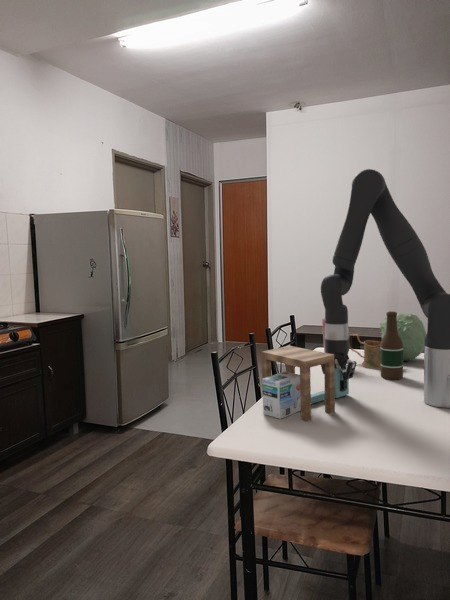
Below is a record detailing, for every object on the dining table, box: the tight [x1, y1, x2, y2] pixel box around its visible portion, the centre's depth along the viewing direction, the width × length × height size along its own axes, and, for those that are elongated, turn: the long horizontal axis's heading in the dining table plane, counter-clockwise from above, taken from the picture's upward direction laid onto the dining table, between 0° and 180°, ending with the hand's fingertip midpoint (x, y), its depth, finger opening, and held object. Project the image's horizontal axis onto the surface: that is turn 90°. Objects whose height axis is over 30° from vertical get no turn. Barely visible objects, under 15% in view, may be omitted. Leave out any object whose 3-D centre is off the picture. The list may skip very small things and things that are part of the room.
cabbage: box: [379, 312, 427, 362], centre depth 194 cm, size 16×19×20 cm
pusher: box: [311, 368, 350, 405], centre depth 146 cm, size 21×4×9 cm, turn 126°
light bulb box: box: [261, 370, 301, 420], centre depth 137 cm, size 11×7×11 cm, turn 134°
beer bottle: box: [379, 311, 404, 381], centre depth 169 cm, size 8×8×24 cm
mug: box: [349, 333, 381, 370], centre depth 189 cm, size 12×18×12 cm, turn 54°
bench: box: [261, 345, 336, 422], centre depth 139 cm, size 18×12×17 cm, turn 37°
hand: (337, 389), depth 151 cm, fingers closed on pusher, 4 cm apart
